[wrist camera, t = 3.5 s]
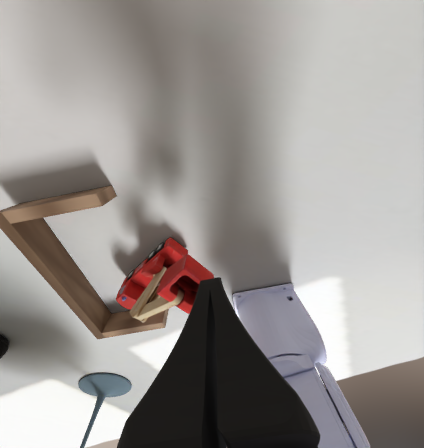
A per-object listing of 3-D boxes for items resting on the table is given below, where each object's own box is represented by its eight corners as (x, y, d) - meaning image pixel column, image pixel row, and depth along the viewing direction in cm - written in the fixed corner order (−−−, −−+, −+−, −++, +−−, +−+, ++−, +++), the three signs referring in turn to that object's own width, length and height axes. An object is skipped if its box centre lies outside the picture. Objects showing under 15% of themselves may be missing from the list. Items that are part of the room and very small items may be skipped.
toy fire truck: (123, 277, 24) (79, 357, 15) (190, 215, 20) (183, 272, 11) (143, 289, 25) (112, 369, 16) (210, 232, 21) (216, 296, 12)
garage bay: (111, 185, 18) (95, 193, 15) (168, 308, 27) (165, 327, 24) (20, 203, 18) (-12, 214, 15) (107, 319, 27) (97, 339, 25)
